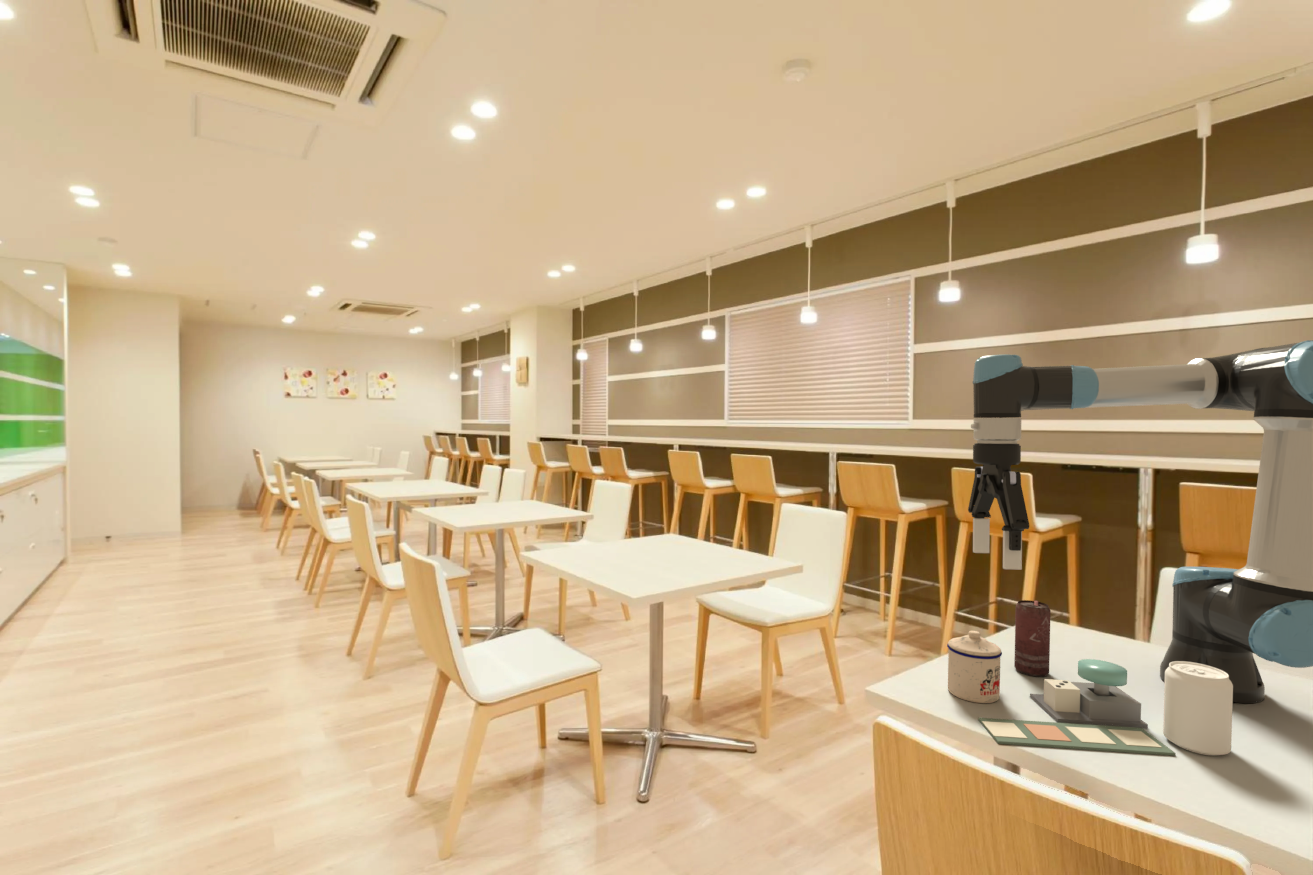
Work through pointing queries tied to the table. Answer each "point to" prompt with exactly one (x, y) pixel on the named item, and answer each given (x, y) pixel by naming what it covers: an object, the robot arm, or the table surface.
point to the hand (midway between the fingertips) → (995, 560)
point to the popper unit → (1088, 704)
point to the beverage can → (1198, 708)
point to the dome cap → (1102, 675)
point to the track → (1074, 736)
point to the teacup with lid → (974, 668)
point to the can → (1032, 638)
